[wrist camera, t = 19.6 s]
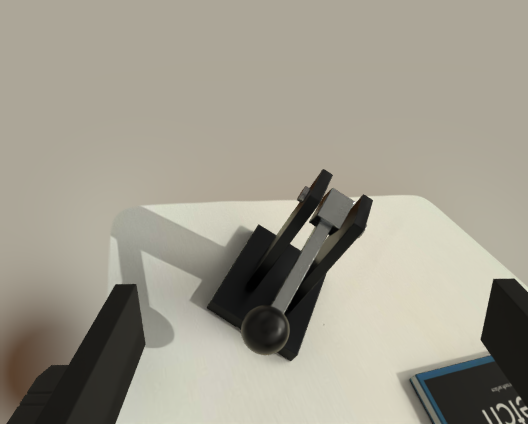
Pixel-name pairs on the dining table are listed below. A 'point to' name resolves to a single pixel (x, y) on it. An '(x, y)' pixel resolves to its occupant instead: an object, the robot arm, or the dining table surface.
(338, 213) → the control lever
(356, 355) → the dining table surface
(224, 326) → the dining table surface
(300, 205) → the bracket
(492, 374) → the sketchbook
